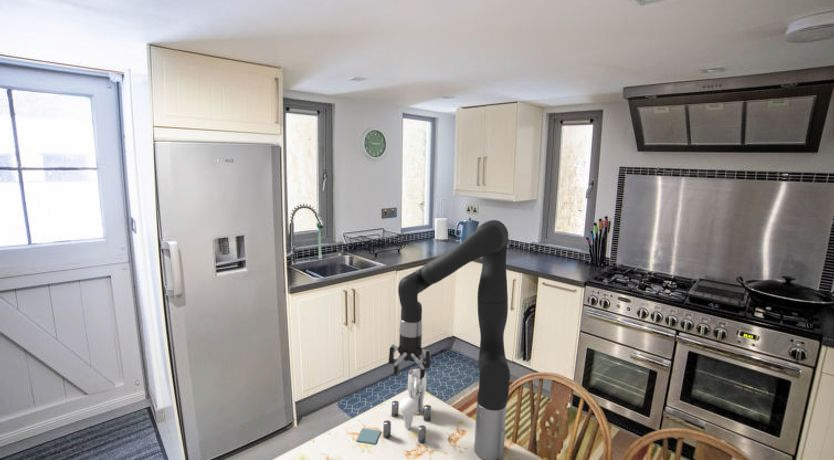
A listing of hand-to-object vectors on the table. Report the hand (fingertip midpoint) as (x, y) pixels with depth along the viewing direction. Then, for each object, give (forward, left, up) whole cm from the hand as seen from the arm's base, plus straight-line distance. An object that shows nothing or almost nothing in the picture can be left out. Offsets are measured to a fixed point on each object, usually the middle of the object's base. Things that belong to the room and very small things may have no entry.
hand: (409, 376), depth 139 cm
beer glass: (-1, -11, -20) cm, 22 cm away
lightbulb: (0, 0, -20) cm, 20 cm away
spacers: (0, 0, -19) cm, 19 cm away
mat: (+12, +7, -19) cm, 24 cm away
